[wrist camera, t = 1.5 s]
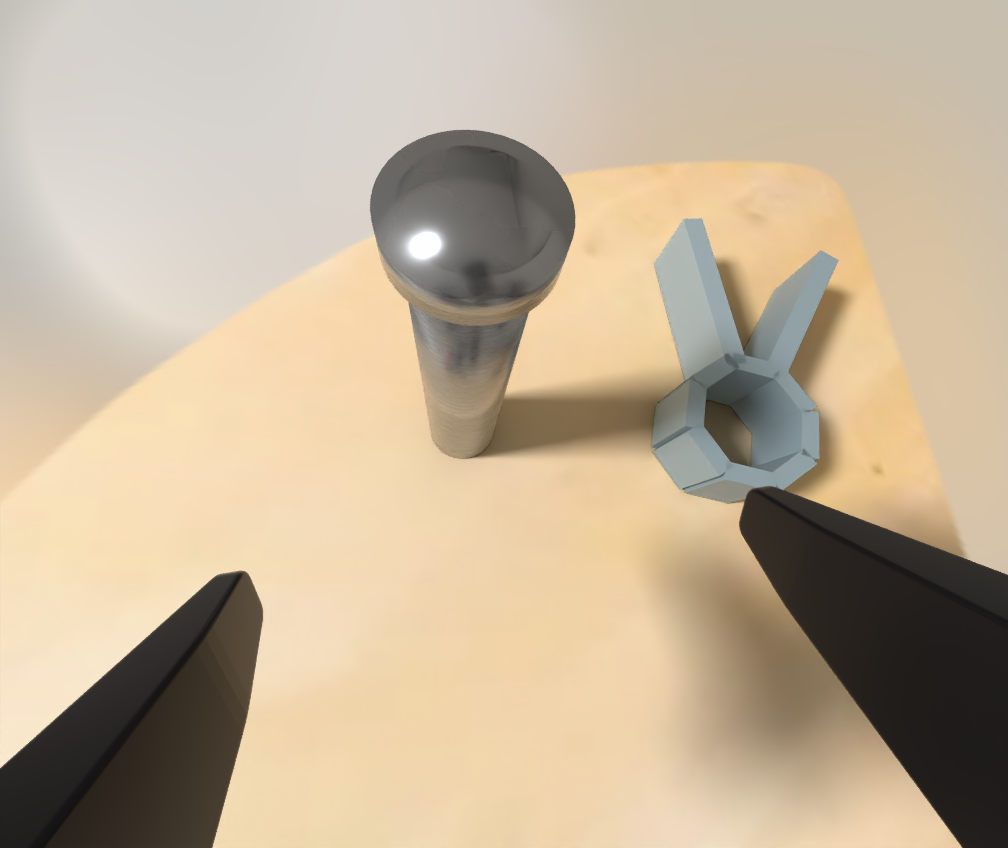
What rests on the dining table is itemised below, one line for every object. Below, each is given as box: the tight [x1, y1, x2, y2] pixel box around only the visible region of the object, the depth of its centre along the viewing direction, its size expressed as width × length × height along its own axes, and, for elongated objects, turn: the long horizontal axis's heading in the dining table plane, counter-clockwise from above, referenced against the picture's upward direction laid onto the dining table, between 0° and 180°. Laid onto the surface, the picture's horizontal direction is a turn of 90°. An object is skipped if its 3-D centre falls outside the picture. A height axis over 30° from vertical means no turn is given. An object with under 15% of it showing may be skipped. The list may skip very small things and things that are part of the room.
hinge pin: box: [370, 130, 575, 459], centre depth 15 cm, size 4×4×14 cm
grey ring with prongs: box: [651, 219, 838, 503], centre depth 22 cm, size 13×8×4 cm, turn 167°
